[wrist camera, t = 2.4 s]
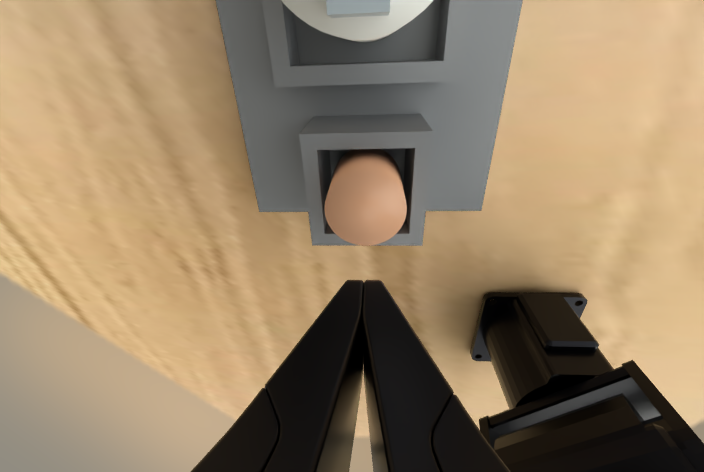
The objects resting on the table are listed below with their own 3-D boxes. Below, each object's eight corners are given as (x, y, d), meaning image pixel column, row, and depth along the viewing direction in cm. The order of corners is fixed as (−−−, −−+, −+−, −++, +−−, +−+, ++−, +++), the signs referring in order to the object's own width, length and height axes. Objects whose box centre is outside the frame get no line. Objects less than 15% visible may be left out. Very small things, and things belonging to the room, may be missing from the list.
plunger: (398, 209, 15) (404, 245, 12) (335, 209, 15) (327, 245, 12) (401, 145, 13) (409, 171, 11) (331, 146, 14) (321, 172, 11)
